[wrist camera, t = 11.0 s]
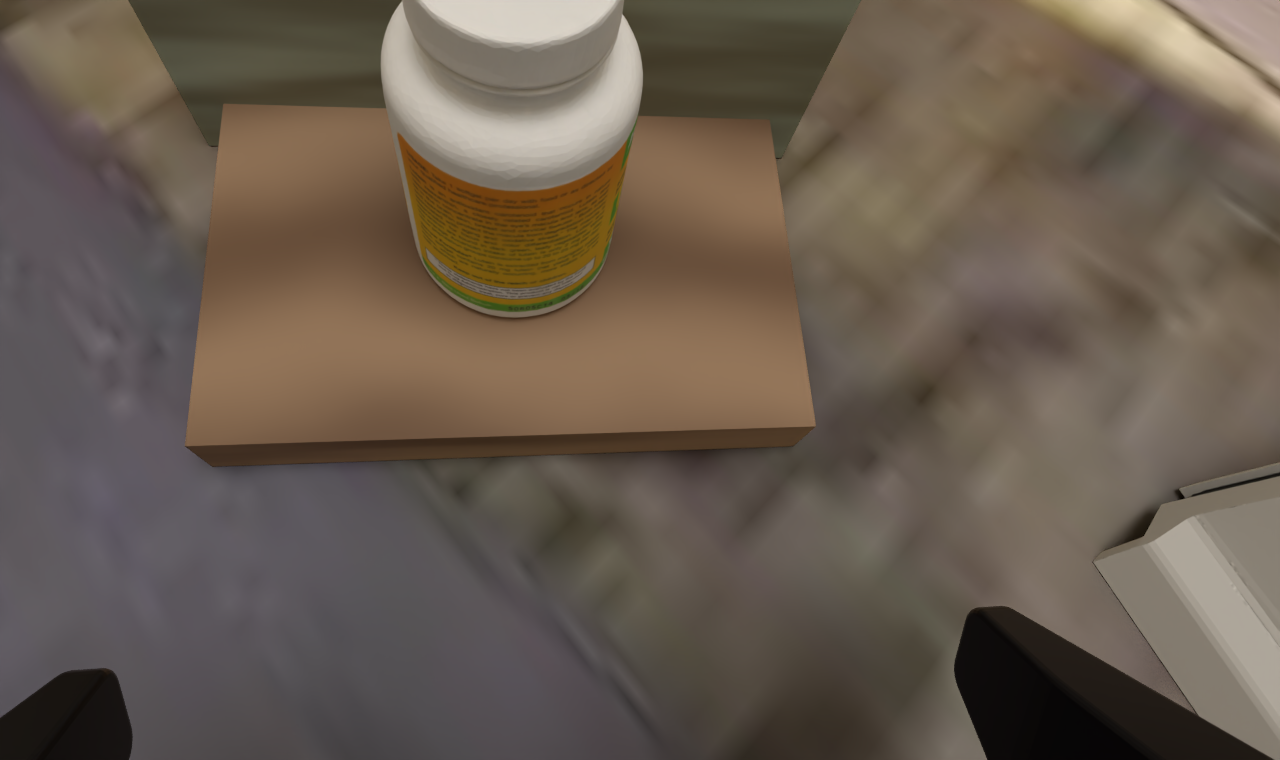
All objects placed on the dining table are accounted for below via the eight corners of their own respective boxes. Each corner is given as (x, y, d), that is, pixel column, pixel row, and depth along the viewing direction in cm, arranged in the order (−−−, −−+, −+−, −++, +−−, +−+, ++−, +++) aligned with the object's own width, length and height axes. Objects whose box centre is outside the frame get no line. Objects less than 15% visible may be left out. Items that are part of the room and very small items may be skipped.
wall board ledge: (825, 445, 25) (958, 340, 17) (171, 468, 22) (-2, 354, 15) (775, 120, 29) (867, -78, 21) (213, 104, 26) (94, -132, 18)
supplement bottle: (636, 293, 23) (714, 44, 14) (447, 346, 22) (403, 109, 13) (573, 136, 25) (608, -178, 16) (392, 177, 24) (319, -141, 15)
